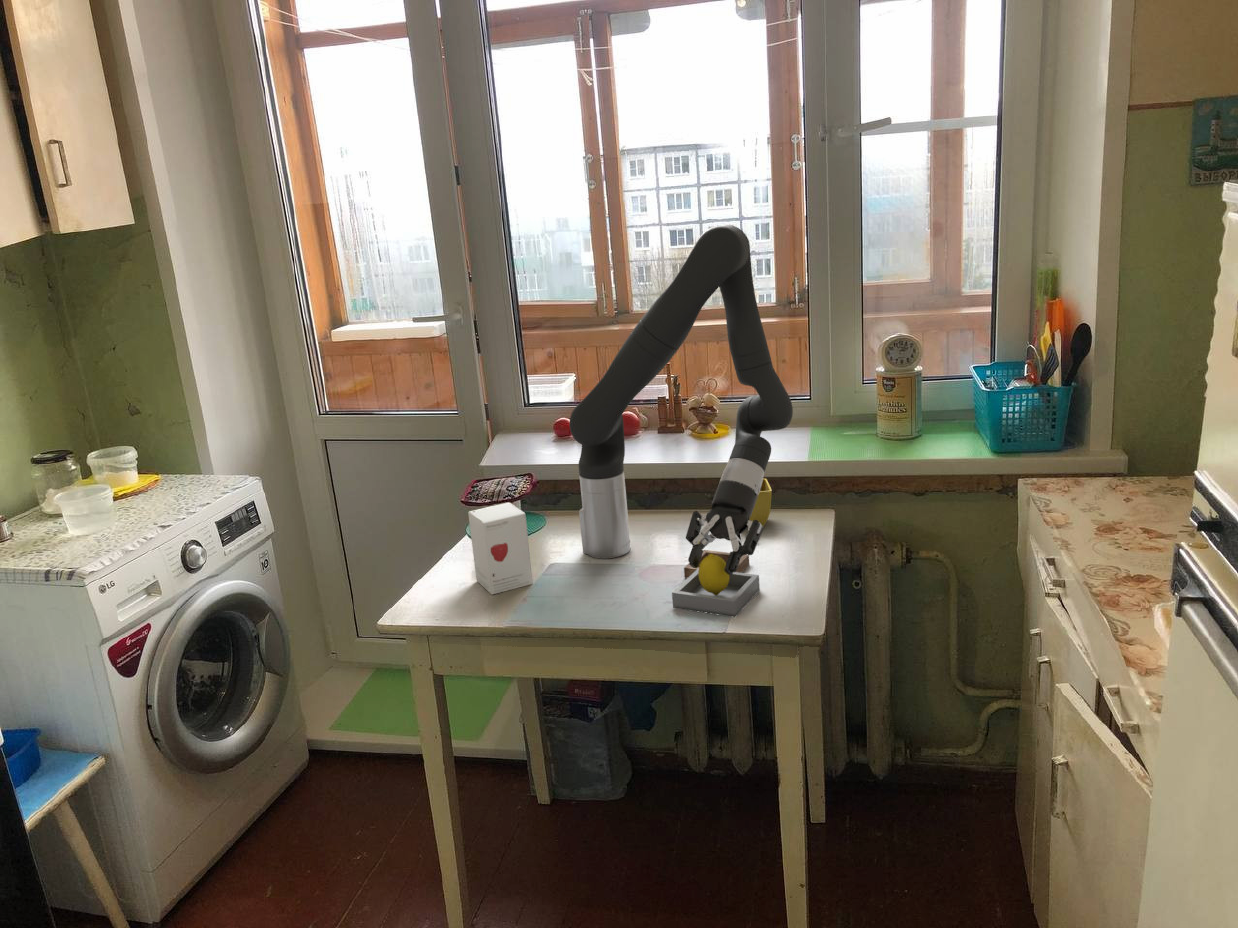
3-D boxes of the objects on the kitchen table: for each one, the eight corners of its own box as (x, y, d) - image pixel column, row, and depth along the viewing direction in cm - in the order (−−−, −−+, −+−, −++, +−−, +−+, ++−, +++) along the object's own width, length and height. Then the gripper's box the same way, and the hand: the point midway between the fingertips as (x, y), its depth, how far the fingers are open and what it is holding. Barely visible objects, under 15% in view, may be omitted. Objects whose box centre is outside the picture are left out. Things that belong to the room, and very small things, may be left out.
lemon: (730, 600, 172) (724, 558, 170) (699, 602, 173) (693, 560, 172) (733, 588, 177) (727, 547, 176) (703, 590, 179) (697, 549, 177)
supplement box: (491, 596, 185) (481, 523, 181) (475, 581, 193) (466, 510, 189) (534, 584, 189) (526, 512, 185) (517, 570, 197) (509, 500, 193)
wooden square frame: (684, 577, 186) (683, 567, 186) (704, 559, 194) (703, 549, 193) (730, 583, 181) (730, 573, 181) (749, 564, 189) (748, 554, 189)
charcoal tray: (673, 607, 173) (671, 592, 172) (700, 582, 183) (699, 567, 182) (735, 617, 168) (734, 601, 167) (759, 590, 178) (758, 575, 177)
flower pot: (773, 530, 206) (772, 490, 204) (733, 533, 207) (731, 493, 204) (768, 516, 215) (766, 478, 212) (729, 519, 215) (726, 481, 213)
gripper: (697, 474, 179) (667, 555, 174) (766, 483, 171) (737, 567, 165) (713, 493, 185) (684, 571, 179) (781, 502, 177) (753, 584, 171)
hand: (710, 569), depth 172 cm, fingers open, 6 cm apart
